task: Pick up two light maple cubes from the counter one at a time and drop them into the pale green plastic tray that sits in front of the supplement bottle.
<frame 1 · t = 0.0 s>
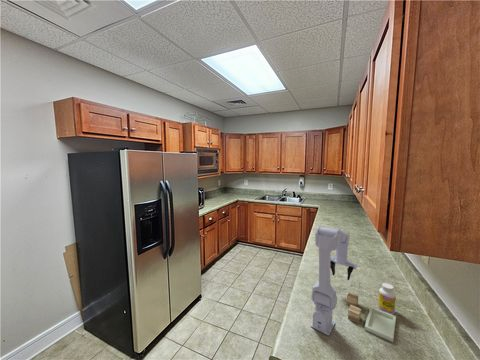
hand: (340, 276, 113), 10 cm above the countertop, fingers open, 7 cm apart
tray: (380, 324, 92), on the countertop
supplement bottle: (386, 310, 101), on the countertop
cube a: (354, 318, 96), on the countertop
cube b: (352, 304, 106), on the countertop
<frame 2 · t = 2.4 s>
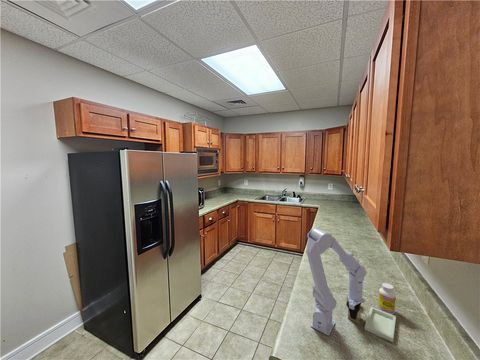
hand: (354, 315, 96), 1 cm above the countertop, fingers closed on cube a, 4 cm apart
cube a: (354, 318, 96), on the countertop, touching gripper
everything else where it was.
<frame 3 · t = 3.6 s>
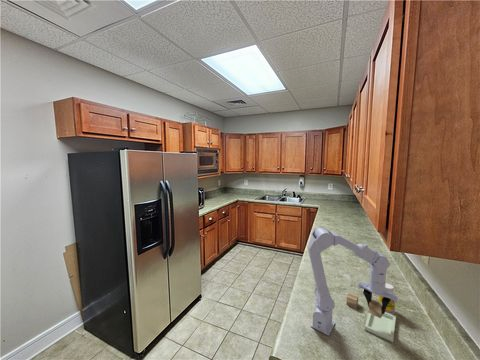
hand: (376, 309, 90), 9 cm above the countertop, fingers closed on cube a, 4 cm apart
cube a: (376, 313, 90), point 7 cm above the countertop, touching gripper
everything else where it was.
when the fingers open (3 cm above the countertop, at t = 5.1 s): cube a drops 1 cm, resting on tray.
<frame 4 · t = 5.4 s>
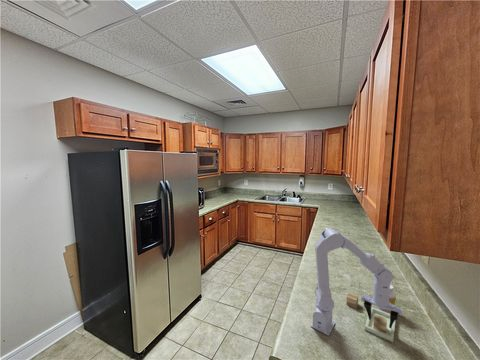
hand: (379, 322, 89), 3 cm above the countertop, fingers open, 7 cm apart
cube a: (379, 329, 89), resting on tray
everything else where it was.
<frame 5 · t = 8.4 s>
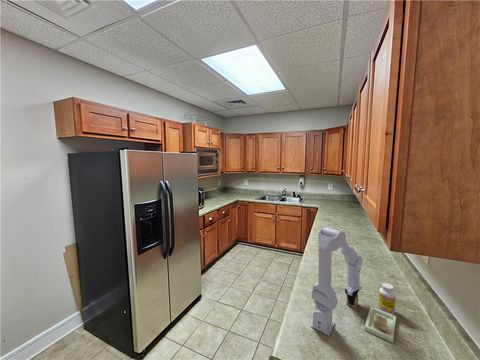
hand: (352, 301, 106), 1 cm above the countertop, fingers closed on cube b, 4 cm apart
cube b: (352, 304, 106), on the countertop, touching gripper
everything else where it was.
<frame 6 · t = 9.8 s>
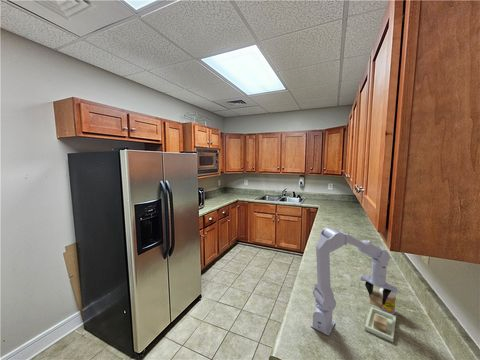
hand: (377, 300, 96), 8 cm above the countertop, fingers closed on cube b, 4 cm apart
cube b: (377, 303, 96), point 7 cm above the countertop, touching gripper
everything else where it was.
when the fingers open (3 cm above the countertop, at t = 11.4 s): cube b drops 1 cm, resting on tray.
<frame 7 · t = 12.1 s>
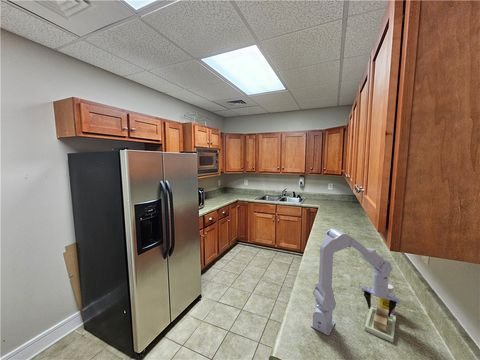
hand: (379, 311, 95), 4 cm above the countertop, fingers open, 7 cm apart
cube b: (382, 319, 94), resting on tray, touching gripper
everything else where it was.
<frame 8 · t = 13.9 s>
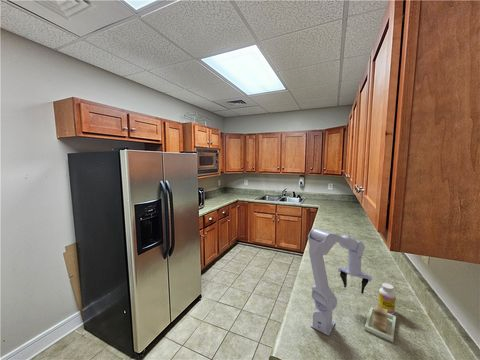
hand: (353, 289, 102), 10 cm above the countertop, fingers open, 7 cm apart
cube b: (380, 319, 95), resting on tray
everything else where it was.
at the end: cube a inside the target area on the tray (3.5 cm from its centre), point 0.4 cm above the tray's base; cube b inside the target area on the tray (3.5 cm from its centre), point 0.4 cm above the tray's base; the gripper is holding nothing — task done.
